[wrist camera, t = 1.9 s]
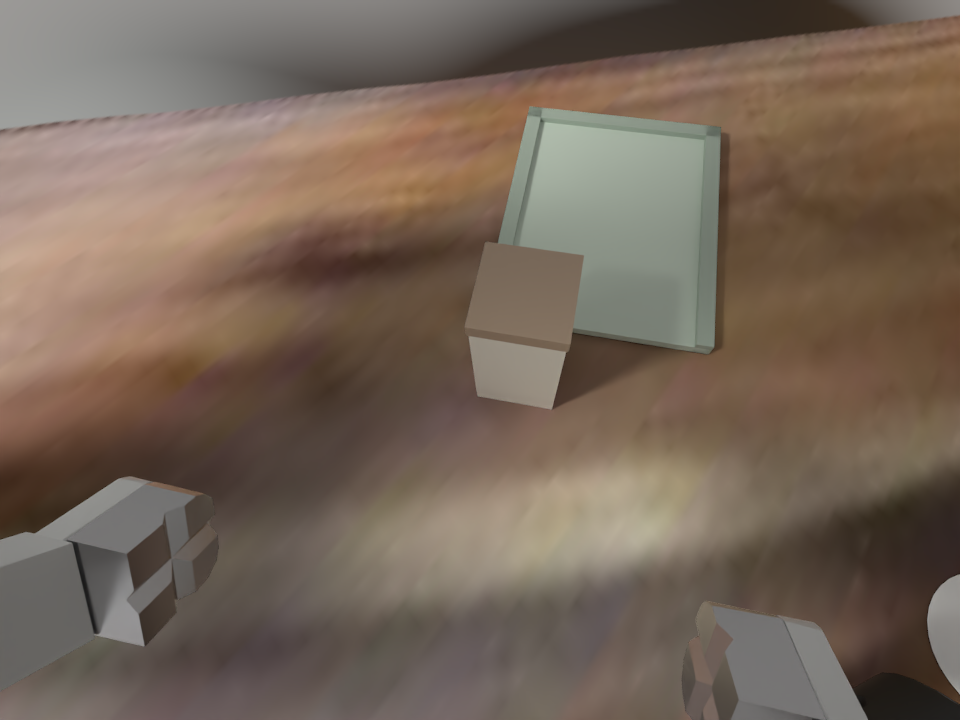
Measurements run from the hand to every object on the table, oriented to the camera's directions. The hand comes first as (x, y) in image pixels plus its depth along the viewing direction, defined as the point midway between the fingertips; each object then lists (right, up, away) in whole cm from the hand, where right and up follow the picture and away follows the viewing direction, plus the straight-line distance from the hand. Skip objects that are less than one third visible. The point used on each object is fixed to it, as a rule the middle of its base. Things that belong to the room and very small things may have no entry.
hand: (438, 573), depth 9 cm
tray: (+10, +13, +27) cm, 32 cm away
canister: (+3, +3, +23) cm, 24 cm away
